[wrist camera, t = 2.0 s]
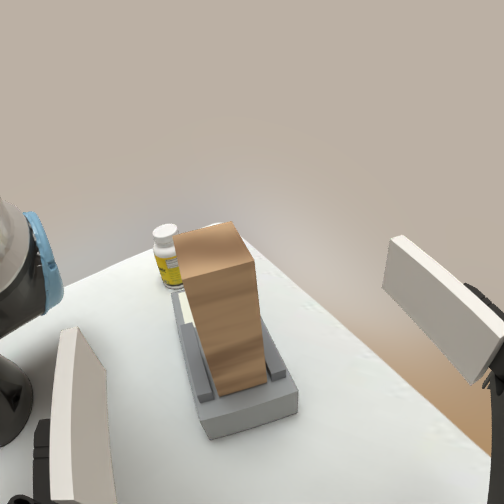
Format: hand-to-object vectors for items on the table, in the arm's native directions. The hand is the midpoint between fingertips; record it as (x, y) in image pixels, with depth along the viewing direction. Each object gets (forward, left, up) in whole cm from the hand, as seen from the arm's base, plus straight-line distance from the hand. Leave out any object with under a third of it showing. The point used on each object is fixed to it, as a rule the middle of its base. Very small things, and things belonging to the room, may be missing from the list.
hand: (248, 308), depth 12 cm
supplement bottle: (-31, +18, -25) cm, 44 cm away
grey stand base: (-13, +10, -24) cm, 29 cm away
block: (-9, +7, -19) cm, 22 cm away
